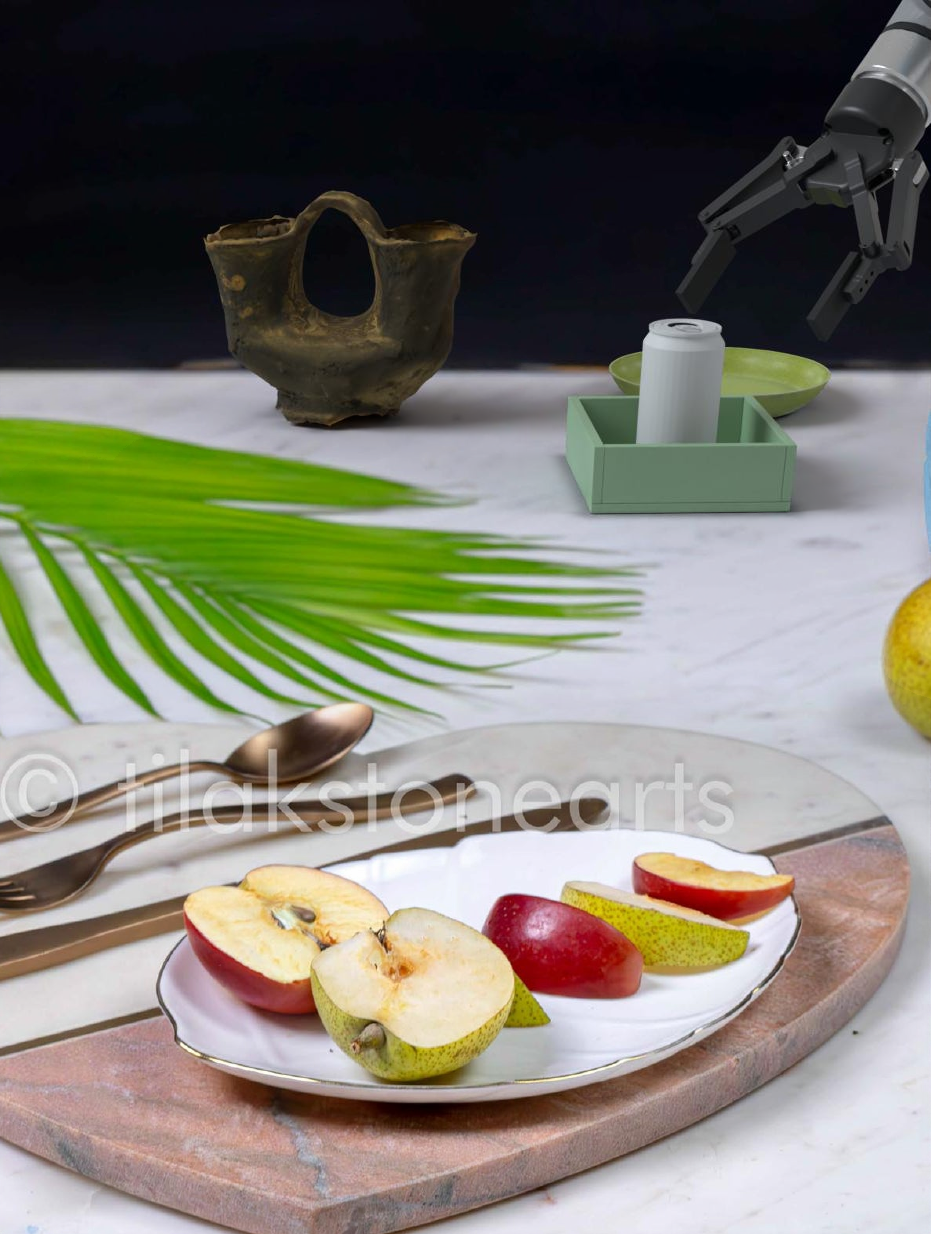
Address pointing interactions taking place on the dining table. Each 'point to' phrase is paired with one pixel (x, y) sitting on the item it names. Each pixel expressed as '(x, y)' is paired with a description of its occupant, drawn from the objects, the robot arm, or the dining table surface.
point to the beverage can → (680, 382)
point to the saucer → (748, 377)
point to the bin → (679, 460)
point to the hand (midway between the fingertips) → (748, 317)
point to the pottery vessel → (331, 345)
